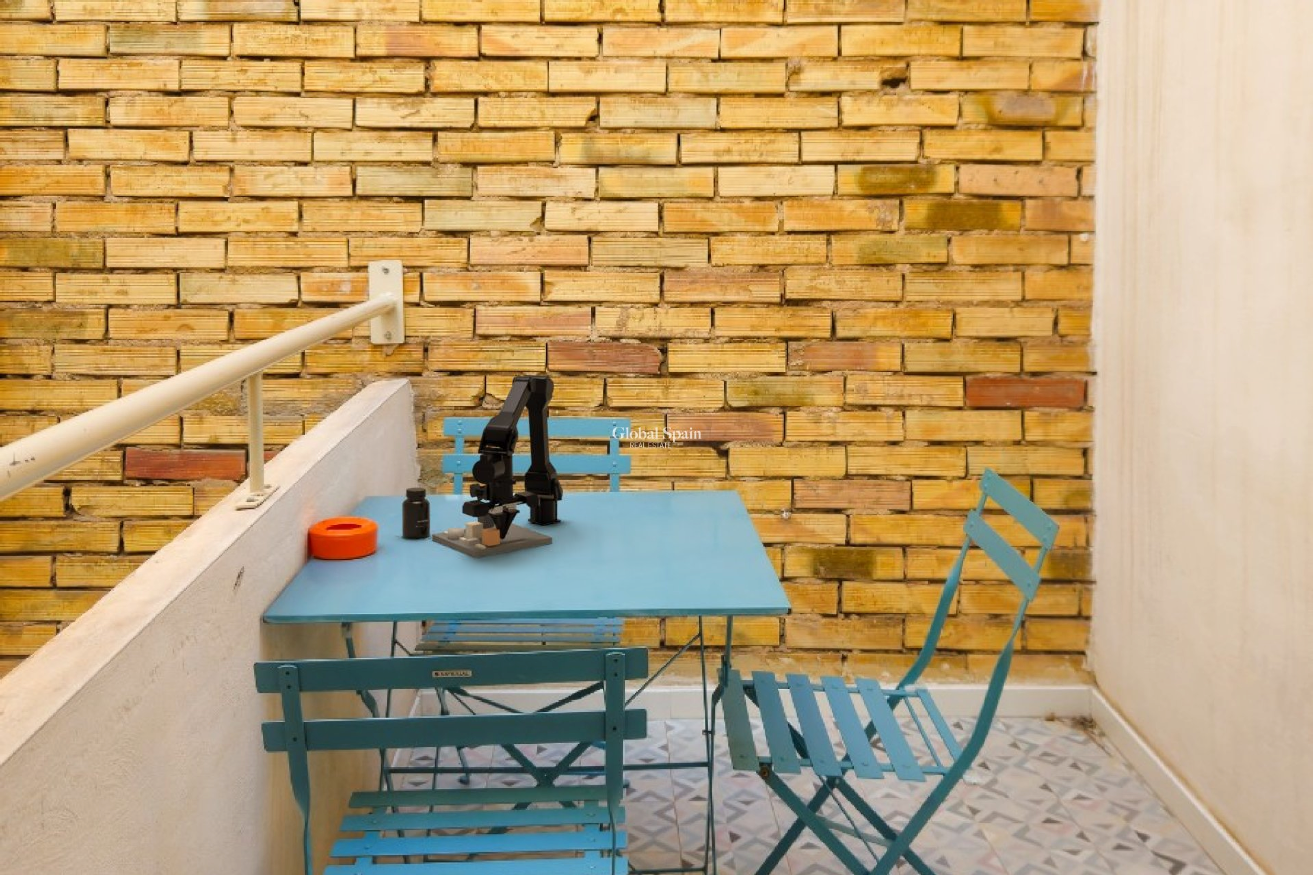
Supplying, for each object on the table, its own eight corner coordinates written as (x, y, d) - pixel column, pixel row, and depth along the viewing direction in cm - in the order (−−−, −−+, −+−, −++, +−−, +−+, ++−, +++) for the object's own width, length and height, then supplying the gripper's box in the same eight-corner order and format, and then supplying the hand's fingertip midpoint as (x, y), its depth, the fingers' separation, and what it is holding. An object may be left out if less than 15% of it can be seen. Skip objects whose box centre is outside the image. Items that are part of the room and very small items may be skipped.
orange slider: (492, 541, 296) (492, 527, 296) (499, 544, 294) (499, 529, 294) (482, 543, 295) (482, 529, 294) (489, 546, 292) (488, 531, 292)
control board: (507, 527, 318) (507, 513, 318) (552, 543, 303) (552, 529, 303) (432, 540, 304) (432, 526, 304) (475, 557, 289) (475, 543, 289)
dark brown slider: (487, 524, 313) (487, 511, 312) (494, 526, 311) (494, 513, 310) (477, 526, 311) (477, 512, 310) (484, 528, 309) (483, 514, 308)
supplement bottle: (424, 540, 304) (423, 492, 302) (398, 538, 305) (397, 491, 303) (434, 533, 311) (433, 487, 309) (409, 531, 312) (408, 485, 310)
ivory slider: (476, 535, 302) (476, 521, 302) (483, 537, 300) (482, 523, 299) (465, 537, 300) (465, 523, 300) (472, 539, 298) (472, 525, 297)
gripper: (514, 465, 305) (515, 526, 308) (449, 475, 293) (451, 538, 296) (540, 472, 297) (541, 535, 300) (474, 483, 285) (475, 548, 288)
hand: (502, 538), depth 296 cm, fingers closed
